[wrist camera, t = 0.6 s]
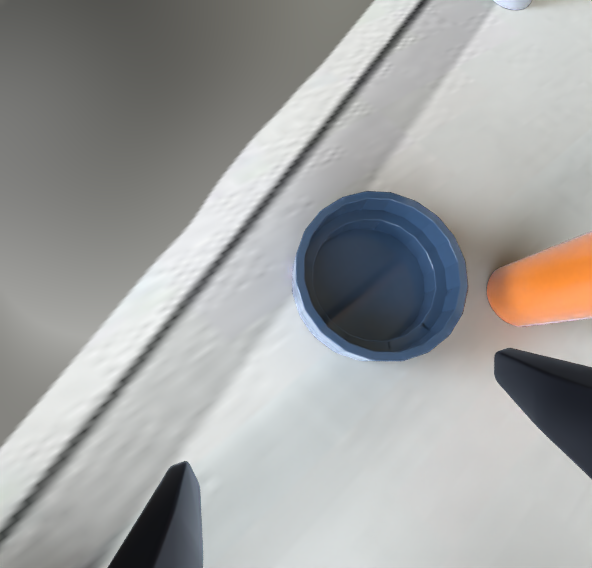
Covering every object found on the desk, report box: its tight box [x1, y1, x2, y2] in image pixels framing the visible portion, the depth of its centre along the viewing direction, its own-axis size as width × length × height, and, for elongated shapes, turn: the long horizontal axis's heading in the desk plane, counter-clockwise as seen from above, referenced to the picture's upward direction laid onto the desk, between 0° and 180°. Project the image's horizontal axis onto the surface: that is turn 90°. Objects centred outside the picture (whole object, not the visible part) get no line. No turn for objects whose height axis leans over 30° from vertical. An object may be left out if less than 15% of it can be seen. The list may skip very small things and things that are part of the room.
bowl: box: [292, 191, 468, 361], centre depth 23 cm, size 12×12×4 cm
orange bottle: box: [487, 231, 592, 327], centre depth 20 cm, size 5×5×12 cm
